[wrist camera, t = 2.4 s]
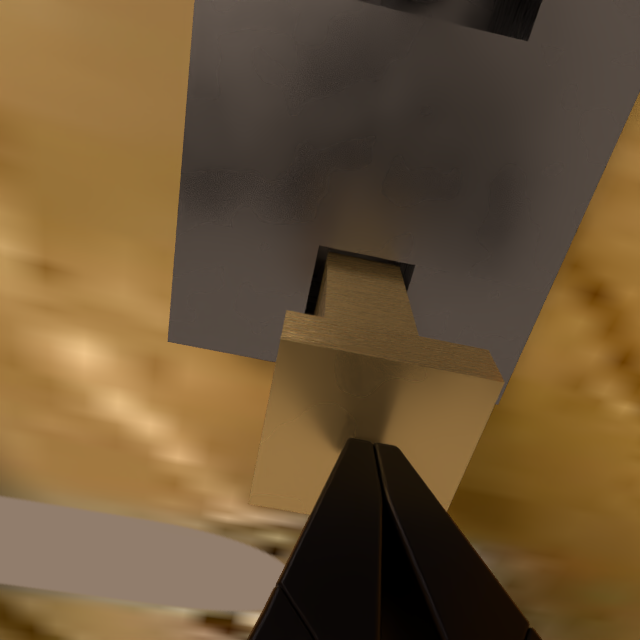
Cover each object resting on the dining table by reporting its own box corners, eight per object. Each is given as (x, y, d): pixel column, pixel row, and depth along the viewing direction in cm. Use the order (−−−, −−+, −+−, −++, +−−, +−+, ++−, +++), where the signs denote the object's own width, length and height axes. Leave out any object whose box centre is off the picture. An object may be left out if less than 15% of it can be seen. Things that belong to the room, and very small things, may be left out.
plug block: (399, 356, 16) (435, 536, 10) (281, 333, 15) (248, 504, 10) (436, 245, 14) (504, 382, 8) (304, 217, 14) (280, 338, 8)
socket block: (462, 326, 20) (498, 404, 16) (206, 275, 19) (167, 341, 15) (675, -232, 13) (853, -381, 8) (275, -345, 12) (239, -570, 8)
